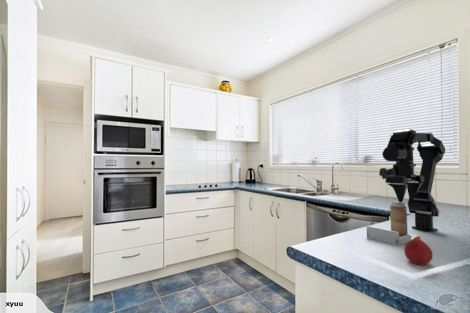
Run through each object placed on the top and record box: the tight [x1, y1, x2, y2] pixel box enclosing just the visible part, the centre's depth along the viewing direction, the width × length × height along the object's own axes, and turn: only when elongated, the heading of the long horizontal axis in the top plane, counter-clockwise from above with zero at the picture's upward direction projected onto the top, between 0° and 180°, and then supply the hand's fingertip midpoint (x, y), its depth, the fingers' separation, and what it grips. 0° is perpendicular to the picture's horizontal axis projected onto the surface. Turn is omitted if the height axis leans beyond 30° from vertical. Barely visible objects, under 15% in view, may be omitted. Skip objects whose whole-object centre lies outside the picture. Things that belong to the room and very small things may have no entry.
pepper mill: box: [389, 201, 409, 237], centre depth 84 cm, size 5×5×12 cm
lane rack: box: [366, 225, 417, 246], centre depth 82 cm, size 17×10×5 cm, turn 121°
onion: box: [403, 235, 434, 266], centre depth 60 cm, size 6×6×8 cm
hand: (406, 200), depth 89 cm, fingers open, 9 cm apart
